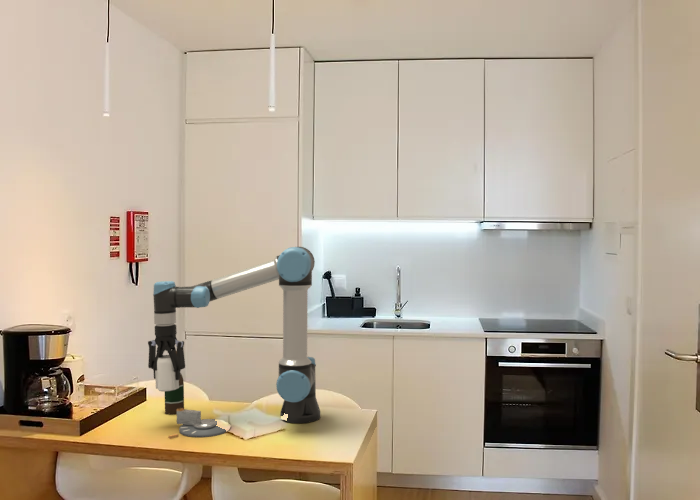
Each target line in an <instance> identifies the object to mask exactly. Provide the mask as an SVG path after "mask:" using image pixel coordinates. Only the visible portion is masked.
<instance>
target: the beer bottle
mask: <svg viewBox="0 0 700 500" xmlns="http://www.w3.org/2000/svg"><path fill="white" fill-rule="evenodd" d="M176 354H177V350H176ZM184 383H185V381H184V376H183V375H182V373H181V372H180V379H179V388H178V389H176V390H173V391H166V392H164V414H165V415H169V416H174V415H176V416H177V409H178V408H180V407H181V408H184V409H185V387H184V386H185V384H184Z"/></svg>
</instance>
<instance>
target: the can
mask: <svg viewBox="0 0 700 500" xmlns="http://www.w3.org/2000/svg"><path fill="white" fill-rule="evenodd" d="M173 371H174V368H173V364H172V361H171V357H170V355H169V354H163V356H162V357H158V360H157V379H158V389H157V391H159V392H164V393H165V392H166V391H173V376H172V372H173Z"/></svg>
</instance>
